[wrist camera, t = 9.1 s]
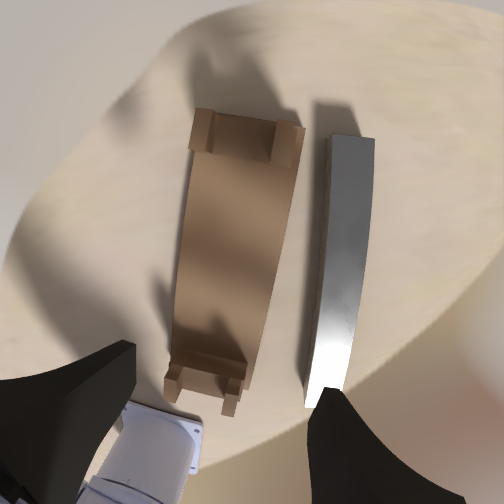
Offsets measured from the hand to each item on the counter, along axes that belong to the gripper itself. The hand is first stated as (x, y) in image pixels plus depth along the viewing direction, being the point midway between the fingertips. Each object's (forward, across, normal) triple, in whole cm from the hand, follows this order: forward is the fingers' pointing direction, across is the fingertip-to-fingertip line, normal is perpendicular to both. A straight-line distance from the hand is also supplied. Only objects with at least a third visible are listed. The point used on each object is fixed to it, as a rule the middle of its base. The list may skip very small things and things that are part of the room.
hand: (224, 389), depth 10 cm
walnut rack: (+10, +2, -2) cm, 10 cm away
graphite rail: (+10, -5, -2) cm, 11 cm away
